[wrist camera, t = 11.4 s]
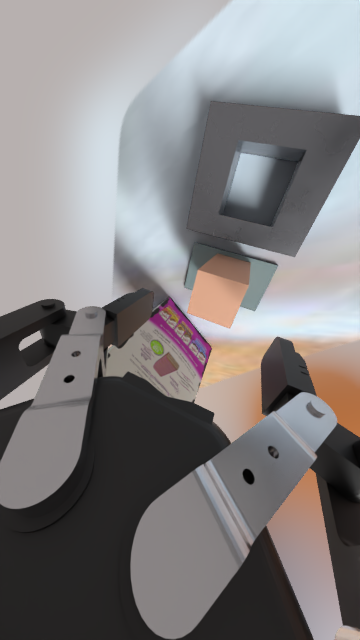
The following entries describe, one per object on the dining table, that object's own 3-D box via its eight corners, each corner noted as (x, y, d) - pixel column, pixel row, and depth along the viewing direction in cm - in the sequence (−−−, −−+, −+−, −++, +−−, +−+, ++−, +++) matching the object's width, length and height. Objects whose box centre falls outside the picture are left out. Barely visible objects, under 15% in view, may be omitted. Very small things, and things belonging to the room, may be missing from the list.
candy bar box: (150, 311, 29) (62, 386, 16) (169, 295, 26) (83, 370, 13) (191, 359, 31) (143, 463, 18) (213, 349, 28) (177, 463, 15)
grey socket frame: (350, 136, 14) (371, 117, 11) (289, 252, 19) (294, 257, 16) (217, 120, 16) (211, 101, 13) (194, 228, 21) (186, 228, 18)
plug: (250, 262, 20) (248, 285, 13) (237, 293, 22) (229, 328, 15) (217, 253, 21) (197, 269, 13) (208, 284, 23) (186, 312, 16)
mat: (277, 265, 19) (278, 265, 19) (254, 310, 23) (254, 311, 22) (195, 242, 21) (194, 242, 21) (185, 286, 25) (184, 287, 24)
